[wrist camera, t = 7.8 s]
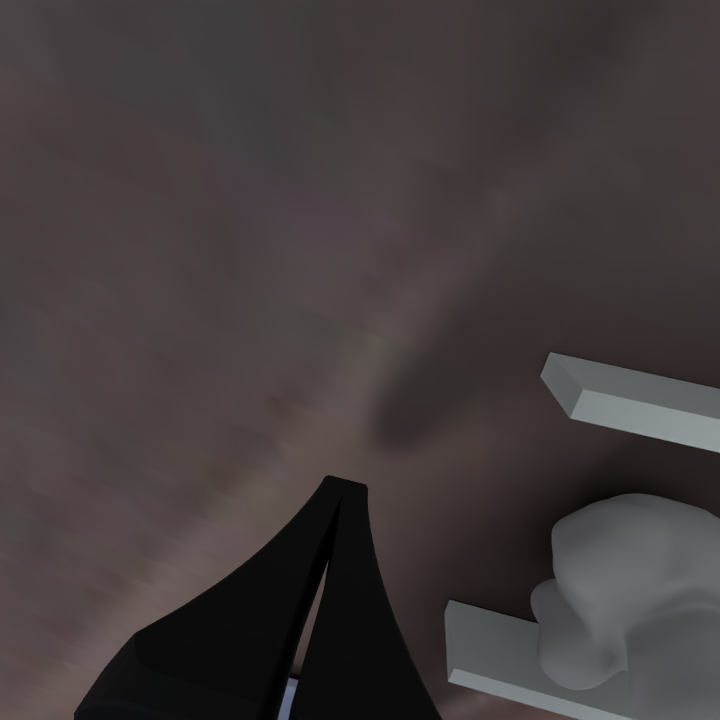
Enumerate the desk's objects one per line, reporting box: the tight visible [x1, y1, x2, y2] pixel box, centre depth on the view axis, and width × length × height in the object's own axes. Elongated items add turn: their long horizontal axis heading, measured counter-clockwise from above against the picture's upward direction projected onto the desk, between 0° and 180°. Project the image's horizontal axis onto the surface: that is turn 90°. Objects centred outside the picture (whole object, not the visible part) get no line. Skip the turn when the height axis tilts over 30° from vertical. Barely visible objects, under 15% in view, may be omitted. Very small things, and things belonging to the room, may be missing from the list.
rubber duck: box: [531, 493, 720, 720], centre depth 9 cm, size 5×7×8 cm
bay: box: [444, 352, 720, 720], centre depth 12 cm, size 12×11×2 cm
